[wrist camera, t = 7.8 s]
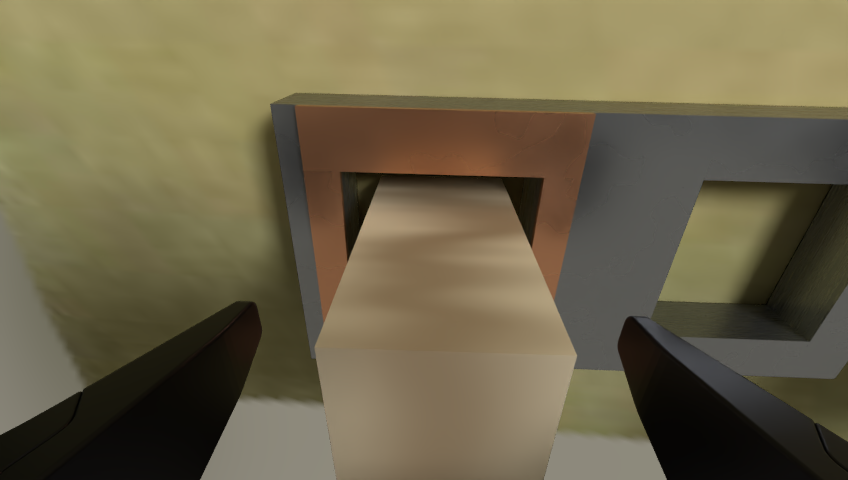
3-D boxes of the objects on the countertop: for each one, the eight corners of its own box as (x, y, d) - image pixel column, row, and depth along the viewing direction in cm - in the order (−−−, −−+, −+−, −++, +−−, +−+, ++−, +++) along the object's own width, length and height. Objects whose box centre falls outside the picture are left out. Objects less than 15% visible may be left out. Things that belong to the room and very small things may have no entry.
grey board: (934, 110, 11) (1035, 125, 9) (789, 339, 16) (839, 383, 14) (295, 93, 12) (267, 105, 10) (325, 322, 16) (309, 362, 14)
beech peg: (501, 178, 13) (576, 355, 6) (490, 277, 15) (537, 502, 8) (381, 175, 13) (314, 347, 6) (385, 275, 15) (339, 494, 8)
